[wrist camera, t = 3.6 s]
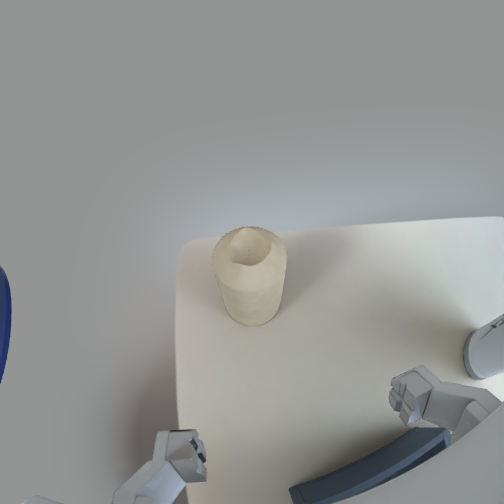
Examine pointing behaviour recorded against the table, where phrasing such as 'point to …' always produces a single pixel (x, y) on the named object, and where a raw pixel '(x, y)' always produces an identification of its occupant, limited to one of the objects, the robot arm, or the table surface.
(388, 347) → the table surface
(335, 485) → the bin
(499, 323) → the travel mug
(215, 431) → the table surface
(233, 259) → the candle
